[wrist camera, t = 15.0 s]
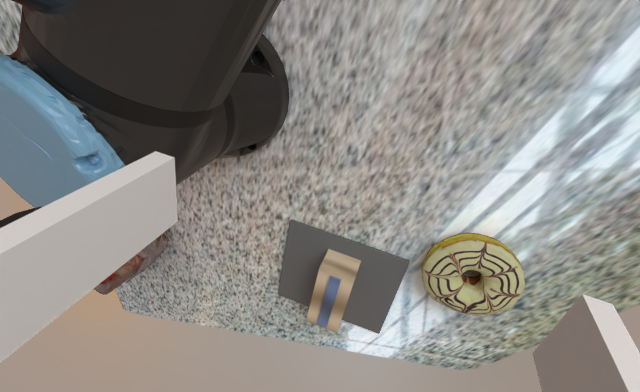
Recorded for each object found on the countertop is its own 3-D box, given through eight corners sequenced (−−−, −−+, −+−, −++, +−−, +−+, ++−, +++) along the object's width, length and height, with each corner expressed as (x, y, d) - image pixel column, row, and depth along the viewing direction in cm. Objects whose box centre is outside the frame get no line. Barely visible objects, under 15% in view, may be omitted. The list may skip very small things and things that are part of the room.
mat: (279, 292, 53) (278, 294, 53) (291, 219, 46) (290, 221, 45) (379, 331, 50) (379, 333, 50) (409, 260, 43) (409, 263, 42)
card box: (328, 248, 45) (318, 269, 42) (361, 260, 45) (353, 282, 41) (315, 299, 51) (305, 322, 47) (344, 311, 50) (336, 334, 46)
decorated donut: (454, 309, 45) (454, 332, 41) (406, 249, 43) (403, 268, 39) (538, 282, 39) (546, 306, 36) (487, 212, 37) (491, 231, 34)
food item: (142, 200, 53) (87, 236, 45) (180, 237, 54) (133, 278, 46) (111, 240, 60) (59, 277, 52) (145, 271, 62) (99, 312, 53)
